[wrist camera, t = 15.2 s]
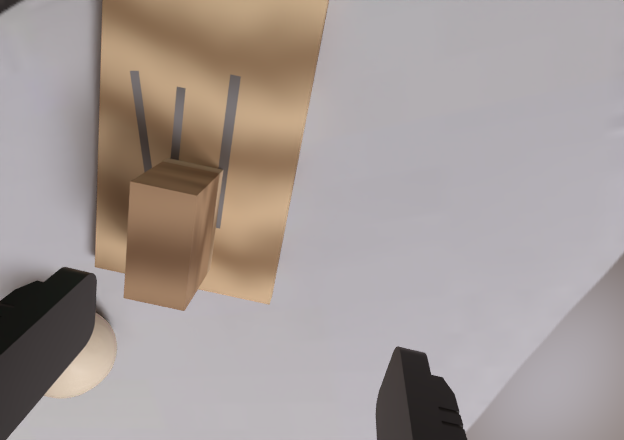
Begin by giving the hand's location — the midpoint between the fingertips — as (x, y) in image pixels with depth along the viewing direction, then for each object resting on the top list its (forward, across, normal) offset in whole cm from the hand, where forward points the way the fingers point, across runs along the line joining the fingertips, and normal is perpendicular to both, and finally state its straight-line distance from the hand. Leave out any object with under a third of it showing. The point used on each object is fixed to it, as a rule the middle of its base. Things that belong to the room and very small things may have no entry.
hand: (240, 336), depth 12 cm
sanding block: (+21, +8, +7) cm, 23 cm away
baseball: (+22, +15, +20) cm, 33 cm away
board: (+22, +8, +1) cm, 23 cm away
